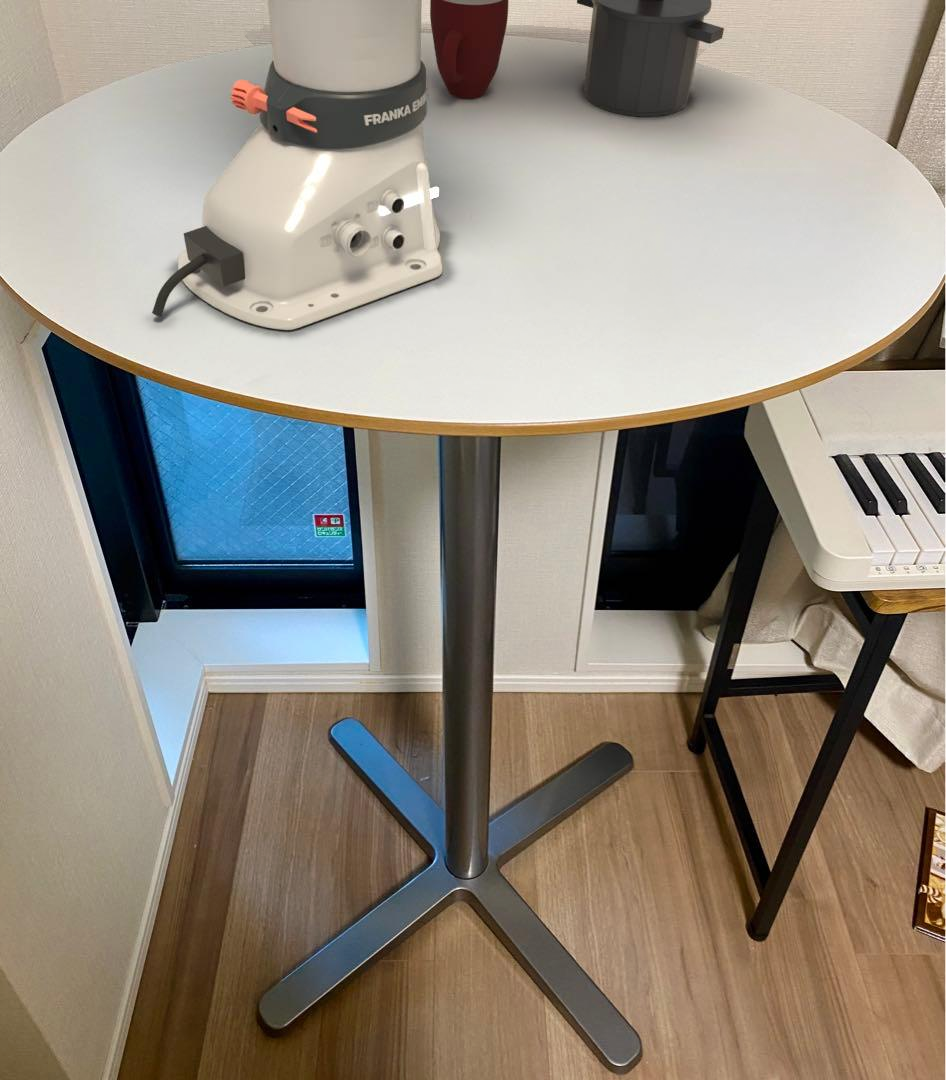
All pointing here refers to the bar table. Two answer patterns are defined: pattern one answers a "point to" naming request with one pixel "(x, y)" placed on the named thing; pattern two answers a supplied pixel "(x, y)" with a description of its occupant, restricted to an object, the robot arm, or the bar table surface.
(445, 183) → the bar table surface
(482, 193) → the bar table surface
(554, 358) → the bar table surface
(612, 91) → the dark grey pot
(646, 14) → the pot lid
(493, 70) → the mug
